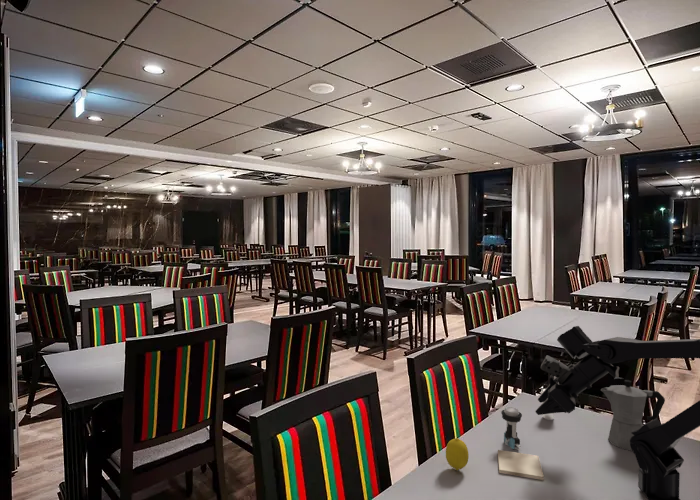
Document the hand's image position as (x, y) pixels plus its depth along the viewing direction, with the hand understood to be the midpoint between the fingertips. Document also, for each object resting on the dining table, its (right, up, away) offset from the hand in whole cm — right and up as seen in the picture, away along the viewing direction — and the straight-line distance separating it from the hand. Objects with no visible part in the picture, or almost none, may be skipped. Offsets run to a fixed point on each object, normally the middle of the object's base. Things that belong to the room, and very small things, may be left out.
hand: (537, 406), depth 110 cm
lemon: (-24, -13, -9) cm, 29 cm away
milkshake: (+13, -12, +21) cm, 28 cm away
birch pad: (-8, -12, -7) cm, 16 cm away
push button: (-6, -12, +3) cm, 14 cm away
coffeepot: (+29, -13, +5) cm, 31 cm away
